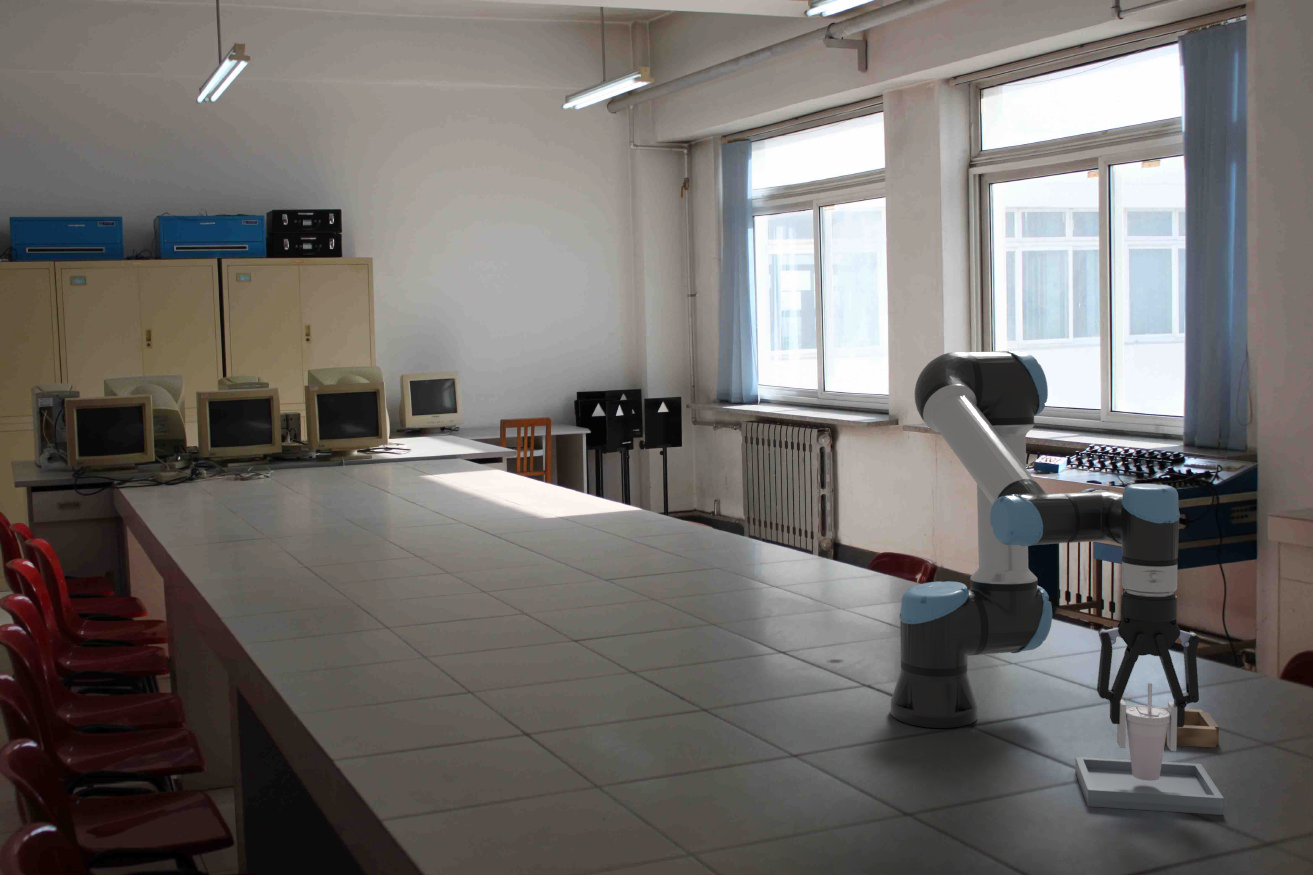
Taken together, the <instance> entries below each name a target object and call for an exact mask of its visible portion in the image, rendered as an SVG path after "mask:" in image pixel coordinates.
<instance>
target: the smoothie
mask: <svg viewBox="0 0 1313 875" xmlns="http://www.w3.org/2000/svg"><path fill="white" fill-rule="evenodd" d="M1152 700H1153V683H1151V682H1148V683H1147V705H1141V704H1140V705H1139V704H1138V705H1130V706H1126V730H1127V731H1126V732H1127V739H1128V748H1129V749H1128V750H1129V758H1130V760H1131V767H1132V775H1133V776H1134V777H1135V778H1138V779H1141V780H1148V781H1153V780H1158V779H1159V778H1160V771H1161V765H1162V762H1163V758H1164V750H1165V746H1166V745H1165V739H1166V733H1167V726H1168V723H1169V722H1170V721H1171V720H1170V713H1169V712H1168V711H1166V710H1164V709H1161V708H1162V707H1158V706H1153V704H1152V702H1153V701H1152Z"/></svg>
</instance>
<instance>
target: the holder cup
mask: <svg viewBox="0 0 1313 875" xmlns="http://www.w3.org/2000/svg"><path fill="white" fill-rule="evenodd" d="M1160 708H1161V709H1164V710H1166V711H1168V707H1160ZM1215 721H1216V720H1214V718H1213V717H1212V716H1211V715H1210V714H1209V712H1208V711H1203V710H1202V709H1201V708H1200V709H1197V708H1196V709H1195V708H1185V722H1184V726H1183V727H1177V746H1181V747H1182V746H1186V747H1199V748H1200V747H1201V748H1217V746H1219V744H1220V743H1219V742H1220V740H1219V738H1220V727H1219V725H1218V724H1217V723H1216V722H1215ZM1164 746H1168V745H1167V733H1166V739H1165V745H1164Z"/></svg>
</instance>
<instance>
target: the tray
mask: <svg viewBox="0 0 1313 875" xmlns="http://www.w3.org/2000/svg"><path fill="white" fill-rule="evenodd" d="M1074 760H1075V762H1074V764H1075V765H1074V767H1075V769H1074V770H1075V772H1074V773H1075V776H1076V778H1077V781H1078V784H1079V786H1080V790H1081V792H1082V794H1083V796H1084V797H1083V798H1084V800H1085V803H1086V806H1087V807H1093V808H1109V809H1110V808H1111V809H1126V810H1141V811H1157V812H1168V813H1169V812H1171V813H1187V814H1203V815H1217V816H1224V814H1225V813H1224V812H1225V811H1224V810H1225V809H1224V808H1225V807H1224V805H1225V797H1224V796H1223V795H1222V793H1221V791H1220V790H1219V789H1218V787H1217V785H1215V783H1214V781H1213V780H1212V778H1211V777H1210V776H1209V774H1208V773H1207V771H1206V769H1205V768H1204V766H1203V765H1202V764H1201V763H1192V762H1176V761H1175V762H1173V761H1162V765H1161V771H1160V778H1159V779H1158V780H1153V781H1148V780H1141V779H1138V778H1135V777H1134V776H1133V775H1132V767H1131V759H1123V758H1122V759H1120V758H1102V757H1087V756H1086V757H1085V756H1075V758H1074Z"/></svg>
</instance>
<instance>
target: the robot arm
mask: <svg viewBox="0 0 1313 875" xmlns="http://www.w3.org/2000/svg"><path fill="white" fill-rule="evenodd" d="M1048 390H1049V389H1048V382H1047V378H1046V375H1045V371H1044V369H1043V367H1042V365H1041V364H1040V363H1039V361H1038V360H1037V359H1036V358H1035V357H1034V356H1033V355H1031V354H1029V353H1027V352H1023V351H1013V350H1012V351H1011V350H1002V351H1000V350H998V351H994V350H993V351H964V352H963V351H952V352H947V353H944V354H941V355H939V356H937V357H935V358H934V359H932V360H931V361H929V362H928V363H927V364H926V366H925V367H924V368H923V369H922V371H921V372H920V374H919V375H918V378H917V380H916V383H915V388H914V403H915V406H916V410H917V412H918V414H919V417H920V418H921V419H922V420H923V422H924V423H925V425H926V426H927V427H928V428H929V429H930V430H932V431H934V432H936V433H939V434H940V435H941V436H942V437H943V438H942V439H944V441H945V442H946V443H947V444H948V446H949V447H950V449H951V450H952V451H953V453H954V454H955V455H956V457H957V458H958V459H959V461H960V462H961V463H962V465H963V466H964V468H965V469H966V471H967V472H968V473H969V474H970V475H971V477H972V479H973V480H974V482H975V483H976V491H977V492H976V498H977V499H976V500H977V540H978V541H977V546H978V547H977V549H978V568H977V570H975V572H974V573H973V574H972V575H971V576H970V577H969V578H970V589H969V587H968V586H967V585H966V584H965V583H962V582H959V581H953V580H952V581H951V580H948V581H931V582H924V583H920V584H917V585H914V586H912V587H910V588H908V589H907V590H906V591H904V593H903V594H902V597H901V602H900V610H899V611H900V612H899V616H898V617H899V621H900V671H899V675H898V678H897V681H896V683H895V687H894V690H893V693H892V695H891V698H890V715H891V717H893V719H895V720H897V721H899V722H901V723H905V724H907V725H910V726H916V727H924V728H931V729H933V728H934V729H944V728H945V729H949V728H959V727H964V726H969V725H972V724H974V722H976V721H977V720H978V703H977V699H976V697H975V694H974V691H973V687H972V684H971V682H970V678H969V674H968V661H969V660H968V659H969V658H968V657H969V656H979V655H980V656H982V655H991V654H992V655H994V654H995V655H996V654H1006V653H1011V654H1018V653H1021V652H1026V651H1027V652H1028V651H1033V650H1036V649H1037V648H1039V647H1040V646H1042V644H1043V643H1044V642H1045V641H1046V639H1047V638H1048V637H1049V636H1048V635H1049V634H1050V631H1051V628H1052V624H1053V623H1052V622H1053V608H1052V602H1051V601H1049V599H1050V596H1049V594H1048V592H1047V591H1046V590H1045V589H1044V588H1043V587H1041V586H1039V585H1038V577H1037V576H1036V575H1035V574H1034V572H1032V571H1031V570H1030V568H1029V547H1031V546H1040V545H1050V544H1051V545H1053V544H1063V543H1064V544H1066V543H1068V544H1070V543H1087V542H1089V543H1090V542H1110V543H1115V544H1117V545H1118V544H1119V545H1121V551H1122V552H1121V584H1120V585H1121V587H1122V588H1123V589H1124V590H1123V591H1122V592H1121V594H1120V598H1121V600H1120V603H1121V604H1120V621H1119V622H1118V624H1117V626H1116V627H1114V628H1110V629H1109V628H1108V629H1105V628H1100V629H1099V630H1098V636H1099V641H1100V644H1101V646H1100V655H1099V666H1098V676H1097V684H1096V685H1097V687H1096V691H1097V693H1098V696H1099V698H1100V699H1105V700H1108V701H1109V719H1110V721H1111V723H1112V725H1116V743H1117V746H1118V747H1119V749H1126V734H1127V733H1126V732H1127V731H1126V730H1127V723H1126V707H1127V704H1126V702H1125V700H1124V699H1122V698H1123V696H1124V693H1125V691H1126V687H1127V685H1128V682H1129V680H1130V677H1131V675H1132V672H1133V669H1134V668H1135V664H1136V662H1137V661H1138V659H1139V657H1140V656H1148V655H1150V656H1154V657H1159V659H1160V662H1161V665H1162V668H1163V672H1164V675H1165V677H1166V680H1167V684H1168V687H1169V689H1170V692H1171V695H1172V699H1173V701H1167V708H1168V712H1169V713H1170V720H1171V721H1170V722H1169V723H1168V726H1167V745H1166V746H1167V747H1168V749H1169V750H1170V752H1177V746H1178V745H1177V727H1183V726H1184V722H1185V709H1186V707H1187V705H1189V704H1191V703H1194V704H1196V703H1198V702H1199V701H1200V696H1199V695H1200V693H1199V679H1198V663H1197V661H1198V660H1197V650H1198V646H1199V643H1200V641H1201V640H1200V636H1198V634H1196V633H1195V632H1194V631H1189V632H1188V631H1184V630H1181V629H1180V627H1179V625H1178V621H1177V620H1178V618H1177V616H1178V614H1177V613H1178V596H1177V595H1176V593H1174V592H1176V591H1177V590H1178V559H1179V537H1180V536H1179V534H1180V533H1179V528H1180V518H1181V513H1180V510H1179V507H1180V506H1179V493H1178V491H1177V489H1176V488H1175V487H1173V486H1171V485H1166V484H1157V483H1156V484H1155V483H1132V484H1128V485H1126V486H1125V487H1124V488H1123V492H1122V493H1121V492H1117V491H1113V490H1109V489H1108V488H1085V489H1083V490H1082V491H1079V492H1068V493H1067V492H1061V493H1048V492H1045V490H1044V489H1043V488H1042V487H1041V486H1040V484H1039V483H1038V482H1037V481H1036V480H1035V478H1034V477H1033V476H1032V474H1031V473H1030V472H1029V471H1028V469H1027V441H1026V440H1027V437H1026V436H1027V434H1028V433H1029V432H1030V431H1031V430H1032V429H1033V427H1035V417H1036V416H1037V415H1040V414H1041V413H1042V412H1043V411H1044V410H1045V408H1046V405H1045V404H1046V403H1047V401H1048V398H1049V396H1048V395H1049V392H1048ZM1119 636H1120V638H1121V639H1122V641H1123V642H1125V645H1126V647H1125V650H1124V655H1123V657H1122V660H1121V663H1120V665H1119V667H1118V670H1117V674H1116V676H1115V679H1114V682H1113V684H1112V686H1111V689H1109V688H1110V687H1109V686H1110V679H1111V678H1110V677H1111V670H1112V669H1111V668H1112V660H1113V659H1112V658H1113V645H1115V644H1116V643H1117V638H1118V637H1119ZM1178 639H1180V644H1181V646H1182V647H1183V661H1184V675H1185V676H1184V677H1185V691H1186V692H1183V690H1182V687H1181V684H1180V681H1179V678H1178V675H1177V673H1176V672H1177V671H1176V670H1175V666H1174V664H1173V659H1172V657H1171V654H1170V653H1171V652H1170V648H1171V647H1172V646H1173V644H1174V643H1175V642H1176V641H1177V640H1178Z"/></svg>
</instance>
